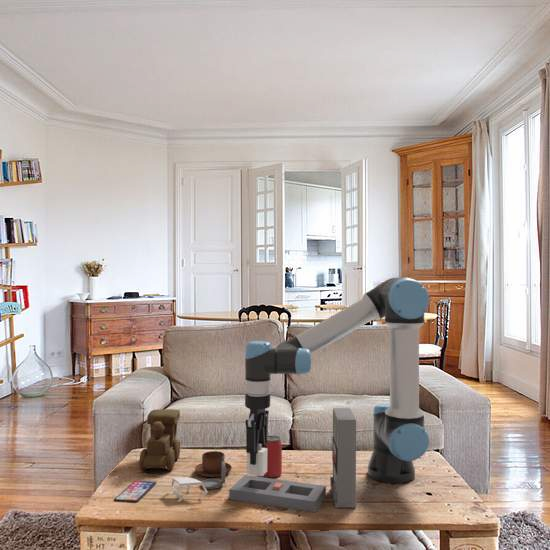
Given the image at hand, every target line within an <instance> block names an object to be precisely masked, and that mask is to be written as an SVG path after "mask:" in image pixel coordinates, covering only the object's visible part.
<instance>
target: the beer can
mask: <svg viewBox="0 0 550 550" xmlns="http://www.w3.org/2000/svg"><path fill="white" fill-rule="evenodd" d="M265 444H268V447H264V448H267V472H266V473H265V474H264V475H263V477H265V478H278V477H279V476H281V475H282V474H283V473H282V472H283V471H282V470H283V468H282V467H283V466H282V465H283V464H282V461H283V450H282V449H283V445H282V441H281V437H280V436H278V435H268V437H267V443H265Z"/></svg>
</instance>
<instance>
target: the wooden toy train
mask: <svg viewBox="0 0 550 550" xmlns="http://www.w3.org/2000/svg"><path fill="white" fill-rule="evenodd" d="M180 412H181V411H180V409H175V408H172V409H171V408H169V409H167V408H166V409H165V408H162V409H160V408H159V409H152V410H150V412H149V413H148V414H147V417H146V419H147V423H146V425H150V428H149V429H150V430H149V431H150V437H149V438H148V441H147V442H146V443H147V444H146V448H142V450H141V451H140V454H139V463H138V465H139V469H140V470H141V471H143V472H144V471H146V470H147V469H166V470H167V471H173V469H174V467H175V461H177V460H178V459H180V455H181V454H180V453H181V441H180V439H177V432H178V431H177V429H178V422H179V421H180V417H181V416H180Z"/></svg>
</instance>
